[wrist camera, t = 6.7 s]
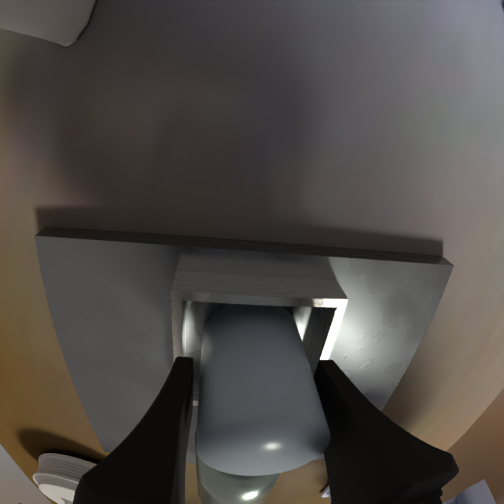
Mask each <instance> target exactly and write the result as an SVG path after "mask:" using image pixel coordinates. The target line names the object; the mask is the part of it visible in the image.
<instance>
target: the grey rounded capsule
mask: <svg viewBox="0 0 504 504" xmlns="http://www.w3.org/2000/svg"><path fill="white" fill-rule="evenodd" d="M330 437H331V436H330V432H329V428H328V425H327V421H326V418H325V415H324V411H323V408H322V405H321V401H320V398H319V395H318V392H317V388H316V385H315V382H314V378H313V375H312V372H311V369H310V365H309V362H308V359H307V356H306V353H305V349H304V346H303V343H302V340H301V337H300V333H299V330H298V327H297V324H296V322H295V320H294V318H293V317H292V316H291V314H290V313H289V312H287V311H286V310H285V309H284V308H282V307H280V306H270V305H248V304H230V305H228V306H226V307H224V308H222V309H220V310H219V311H218V312H216V313H215V314H214V315H213V316H212V317H211V318H210V319H209V320H208V322H207V324H206V325H205V328H204V330H203V335H202V349H201V364H200V380H199V398H198V418H197V443H196V451H197V455H198V456H199V458H200V459H201V460H202V461H203V462H204V463H205V464H206V465H208V466H210V467H212V468H214V469H216V470H219V471H222V472H225V473H229V474H235V475H244V476H261V475H270V474H277V473H281V472H285V471H289V470H292V469H295V468H298V467H300V466H303V465H305V464H307V463H309V462H310V461H312V460H314V459H315V458H317V457H318V456H319V455H320V454H321V453H323V452H324V450H325V449H326V448H327V446H328V445H329V442H330Z"/></svg>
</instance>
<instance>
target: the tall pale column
mask: <svg viewBox="0 0 504 504" xmlns="http://www.w3.org/2000/svg"><path fill="white" fill-rule="evenodd" d="M96 2H97V0H0V28H1V29H5V30H9V31H13V32H17V33H21V34H25V35H29V36H33V37H37V38H41V39H44V40H47V41H51V42H54V43H57V44H60V45H62V46H66V47H68V46H69V45H71V44H72V43H74V42H75V41H77V40H78V39H79V37H80V36H81V35H82V33H83V32H84V30H85V29H86V27H87V26H88V25H89V23H90V20H91V17H92V14H93V11H94V8H95V5H96Z"/></svg>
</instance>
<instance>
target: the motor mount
mask: <svg viewBox="0 0 504 504" xmlns="http://www.w3.org/2000/svg"><path fill="white" fill-rule="evenodd" d="M35 240H36V247H37V253H38V258H39V264H40V269H41V274H42V279H43V283H44V288H45V292H46V296H47V300H48V304H49V308H50V312H51V316H52V319H53V323H54V326H55V330H56V333H57V337H58V340H59V343H60V346H61V349H62V352H63V355H64V358H65V361H66V364H67V367H68V370H69V372H70V375H71V378H72V380H73V383H74V385H75V388H76V390H77V393H78V395H79V398H80V400H81V403H82V405H83V407H84V410H85V412H86V414H87V416H88V419H89V421H90V423H91V425H92V427H93V429H94V431H95V433H96V435H97V437H98V440H99V441H100V443H101V445H102V447H103V449H104V451H106V452H112V451H113V450H114V449H115V448H116V447H117V446H118V445H119V444H120V443H121V442H122V441H123V440H124V439H125V438H126V437H127V436H128V435H129V434H130V432H131V431H132V430H133V429H134V428H135V427H136V425H137V424H138V423H139V422H140V420H141V419H142V418H143V416H144V415H145V414H146V412H147V411H148V409H149V408H150V406H151V405H152V403H153V402H154V400H155V399H156V397H157V395H158V394H159V392H160V390H161V388H162V387H163V385H164V383H165V381H166V379H167V377H168V375H169V373H170V371H171V369H172V366H173V364H174V361H175V358H176V357H178V356H182V357H193V375H194V394H193V413H192V420H191V426H190V433H189V440H188V447H187V454H186V463H196V471H197V486H198V495H199V497H200V500H201V501H202V503H203V504H264V503H265V501H266V499H267V497H268V495H269V494H270V492H271V490H272V488H273V486H274V484H275V482H276V480H277V478H278V476H279V474H280V473H277V474H270V475H261V476H244V475H235V474H229V473H225V472H222V471H219V470H216V469H214V468H212V467H210V466H208V465H206V464H205V463H204V462H203V461H202V460H201V459H200V458H199V456H198V455H197V451H196V443H197V418H198V398H199V380H200V364H201V349H202V335H203V330H204V328H205V325H206V324H207V322H208V320H209V319H210V318H211V317H212V316H213V315H214V314H215V313H216V312H218V311H219V310H220V309H222V308H224V307H226V306H228V305H230V304H248V305H270V306H280V307H282V308H284V309H285V310H286V311H287V312H289V313H290V314H291V316H292V317H293V318H294V320H295V322H296V324H297V327H298V330H299V333H300V337H301V340H302V343H303V346H304V349H305V353H306V356H307V359H308V362H309V365H310V369H311V372H312V375H313V376H314V373H315V370H316V368H317V365H318V362H319V360H333V361H334V362H335V363H336V364H337V365H338V366H339V368H340V369H341V370H342V371H343V372H344V373H345V375H346V376H347V377H348V378H349V379H350V380H351V382H352V383H353V384H354V385H355V386H356V387H357V388H358V389H359V390H360V392H361V393H362V394H363V395H364V396H365V397H366V398H367V399H368V400H369V401H370V402H371V403H372V404H373V405H374V406H375V407H376V408H377V409H378V410H380V411H382V410H383V408H384V407H385V405H386V404H387V402H388V400H389V399H390V397H391V395H392V394H393V392H394V390H395V389H396V387H397V385H398V384H399V382H400V380H401V378H402V377H403V375H404V373H405V371H406V369H407V368H408V366H409V364H410V362H411V360H412V358H413V356H414V354H415V353H416V351H417V349H418V347H419V345H420V343H421V341H422V339H423V337H424V335H425V333H426V330H427V328H428V326H429V324H430V322H431V320H432V317H433V315H434V313H435V311H436V309H437V306H438V304H439V302H440V299H441V297H442V294H443V292H444V289H445V287H446V284H447V282H448V279H449V277H450V274H451V272H452V269H453V266H454V265H452V264H451V263H450V262H449V261H448V260H446V259H445V258H444V257H437V256H426V255H415V254H403V253H392V252H380V251H369V250H357V249H345V248H332V247H320V246H308V245H295V244H282V243H269V242H256V241H242V240H229V239H215V238H201V237H187V236H172V235H157V234H142V233H127V232H111V231H95V230H79V229H62V228H44V229H43V230H41V231H40V232H39V233H38V234H36V235H35ZM321 459H325V458H324V453H321V454H320V455H319V456H318V457H317V458H315V459H314V460H321ZM312 461H313V460H312Z"/></svg>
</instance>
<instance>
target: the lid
mask: <svg viewBox="0 0 504 504" xmlns="http://www.w3.org/2000/svg"><path fill="white" fill-rule="evenodd" d="M38 462H39V464H40V465H39V468H38V471H37V472H35V473H34V475H33V479H34V481H35V482H36V483H37V485H38V487H39V489H40V490H41V491H42V493H44V494H45V495H46V496H47V497H49V498H50V499H52V500H53V501H55V502H57V503H58V504H73V499H74V494H75V490H76V488H77V485H78V483H79V481H80V479H81V477H82V475H83V474H85V473H86V472H88V471H89V470H90V469H92V468H93V467H94V466H96V465H97V464H94V463H91V462H89V461H85V460H82V459H79V458H75V457H71V456H67V455H62V454H56V453H45V454H42V455H40V456H39V459H38Z"/></svg>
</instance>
